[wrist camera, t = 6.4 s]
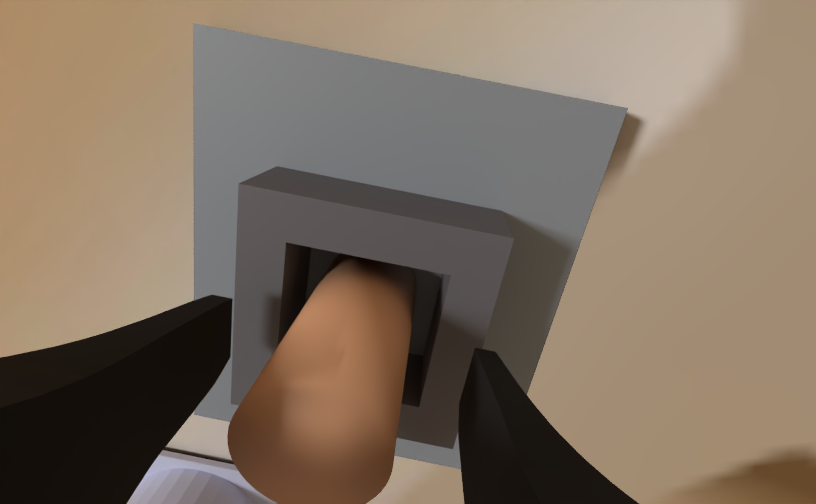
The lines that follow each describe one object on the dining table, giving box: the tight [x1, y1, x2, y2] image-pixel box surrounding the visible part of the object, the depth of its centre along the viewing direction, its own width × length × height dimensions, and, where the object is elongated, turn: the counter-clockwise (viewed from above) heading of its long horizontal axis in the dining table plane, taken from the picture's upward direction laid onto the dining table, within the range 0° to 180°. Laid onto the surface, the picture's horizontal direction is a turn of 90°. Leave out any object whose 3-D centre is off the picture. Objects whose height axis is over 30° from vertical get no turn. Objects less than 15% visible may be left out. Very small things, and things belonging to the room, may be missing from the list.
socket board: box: [193, 23, 628, 469], centre depth 15 cm, size 16×14×4 cm
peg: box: [228, 253, 417, 504], centre depth 13 cm, size 4×4×8 cm
